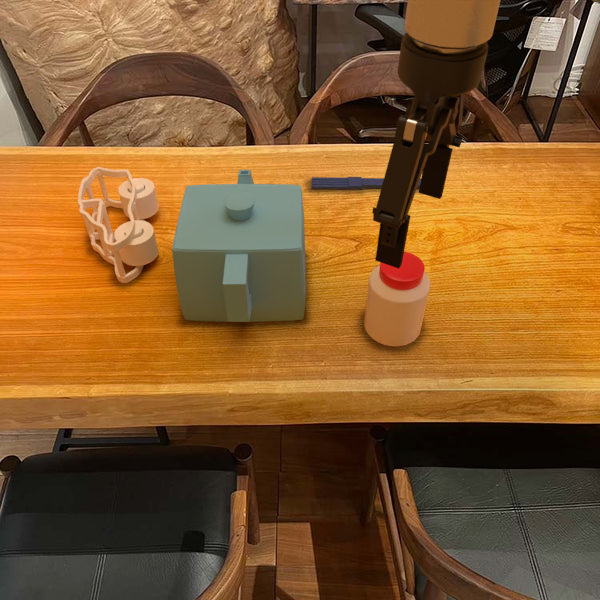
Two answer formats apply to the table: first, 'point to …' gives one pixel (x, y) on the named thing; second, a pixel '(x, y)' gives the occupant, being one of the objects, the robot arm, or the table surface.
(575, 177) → the table surface
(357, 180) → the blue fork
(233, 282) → the container
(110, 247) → the wheeled car silhouette
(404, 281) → the pill bottle
